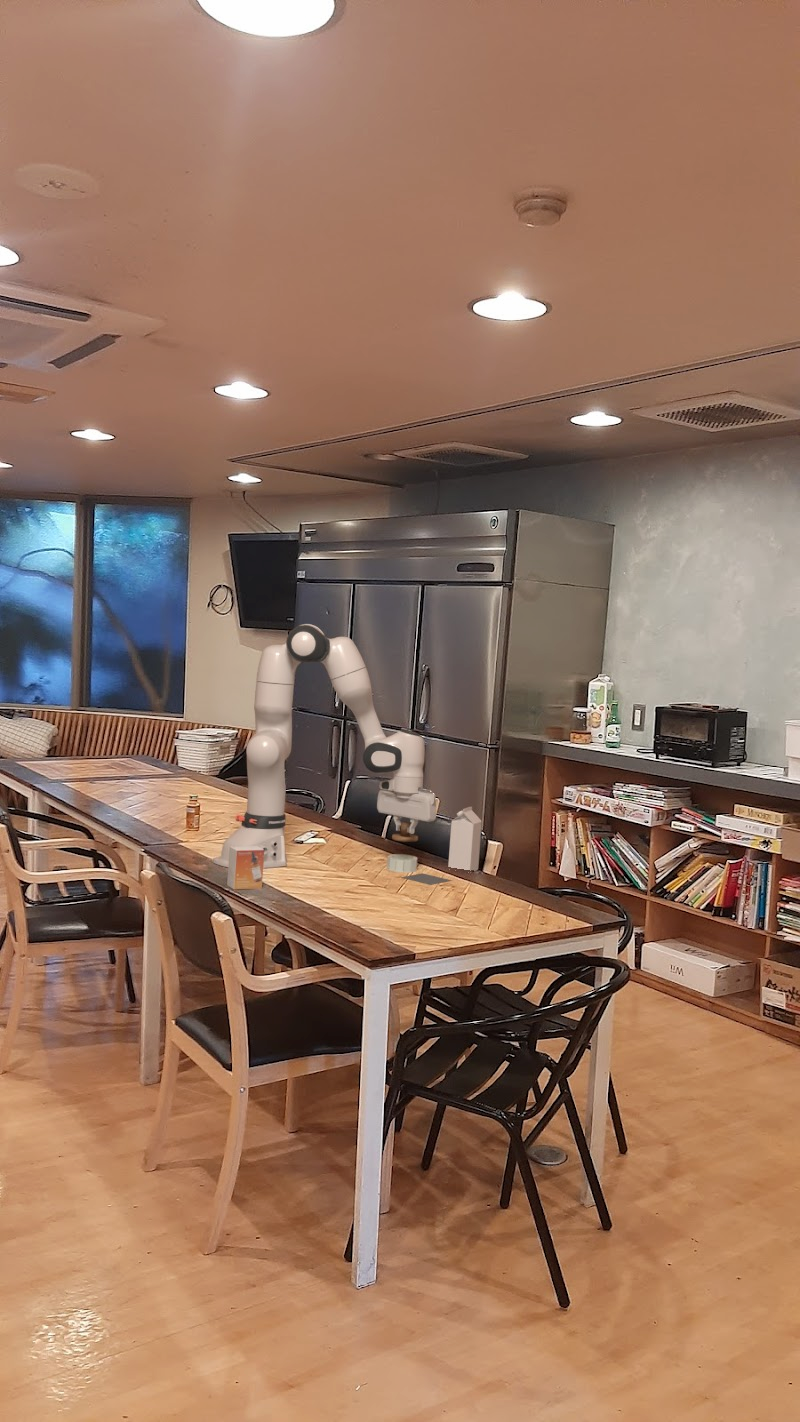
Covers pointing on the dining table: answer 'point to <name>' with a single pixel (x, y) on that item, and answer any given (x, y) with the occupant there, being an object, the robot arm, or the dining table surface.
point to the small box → (245, 867)
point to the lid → (404, 834)
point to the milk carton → (465, 840)
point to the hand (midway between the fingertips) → (405, 832)
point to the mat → (426, 879)
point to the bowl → (402, 863)
